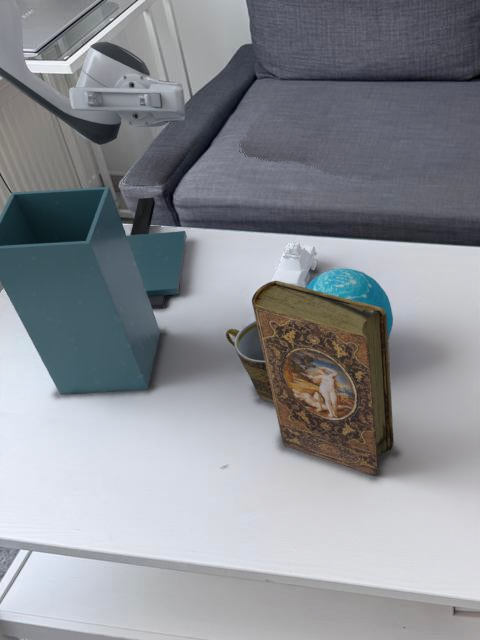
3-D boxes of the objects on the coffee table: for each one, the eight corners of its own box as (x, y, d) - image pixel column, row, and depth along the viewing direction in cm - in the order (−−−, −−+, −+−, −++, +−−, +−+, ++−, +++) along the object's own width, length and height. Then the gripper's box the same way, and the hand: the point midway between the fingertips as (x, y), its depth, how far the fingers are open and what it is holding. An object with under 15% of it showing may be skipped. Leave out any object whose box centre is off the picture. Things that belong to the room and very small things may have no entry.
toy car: (269, 298, 131) (263, 264, 125) (290, 258, 138) (284, 225, 132) (302, 302, 130) (297, 268, 124) (321, 262, 137) (317, 228, 131)
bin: (147, 389, 118) (89, 243, 97) (59, 394, 118) (-18, 249, 97) (160, 332, 126) (109, 186, 106) (78, 337, 127) (11, 192, 106)
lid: (178, 294, 131) (176, 288, 130) (75, 302, 131) (73, 296, 130) (192, 199, 150) (191, 194, 149) (103, 206, 150) (101, 201, 149)
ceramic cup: (322, 379, 118) (315, 328, 110) (288, 420, 113) (278, 370, 105) (254, 355, 122) (242, 305, 114) (218, 394, 117) (203, 344, 109)
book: (277, 444, 110) (244, 303, 90) (295, 419, 113) (267, 278, 93) (378, 478, 105) (367, 337, 85) (394, 451, 108) (387, 309, 88)
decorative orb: (323, 320, 127) (312, 241, 115) (406, 336, 123) (404, 256, 111) (287, 378, 118) (271, 299, 106) (375, 397, 115) (370, 318, 103)
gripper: (81, 80, 141) (52, 76, 128) (190, 83, 141) (171, 79, 129) (86, 118, 144) (59, 118, 131) (193, 120, 144) (175, 120, 132)
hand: (116, 99), depth 130 cm, fingers open, 8 cm apart
